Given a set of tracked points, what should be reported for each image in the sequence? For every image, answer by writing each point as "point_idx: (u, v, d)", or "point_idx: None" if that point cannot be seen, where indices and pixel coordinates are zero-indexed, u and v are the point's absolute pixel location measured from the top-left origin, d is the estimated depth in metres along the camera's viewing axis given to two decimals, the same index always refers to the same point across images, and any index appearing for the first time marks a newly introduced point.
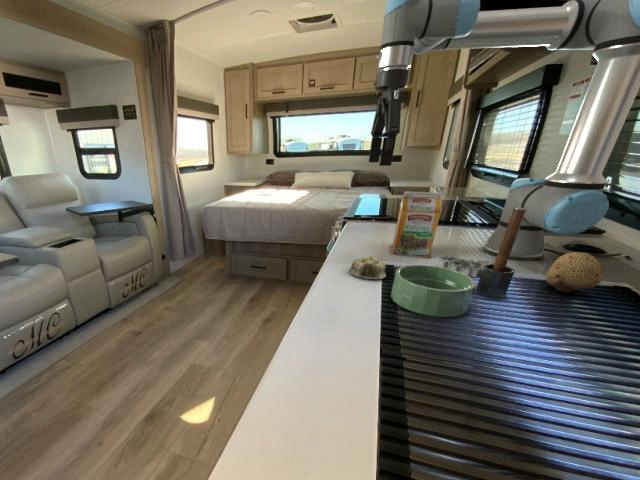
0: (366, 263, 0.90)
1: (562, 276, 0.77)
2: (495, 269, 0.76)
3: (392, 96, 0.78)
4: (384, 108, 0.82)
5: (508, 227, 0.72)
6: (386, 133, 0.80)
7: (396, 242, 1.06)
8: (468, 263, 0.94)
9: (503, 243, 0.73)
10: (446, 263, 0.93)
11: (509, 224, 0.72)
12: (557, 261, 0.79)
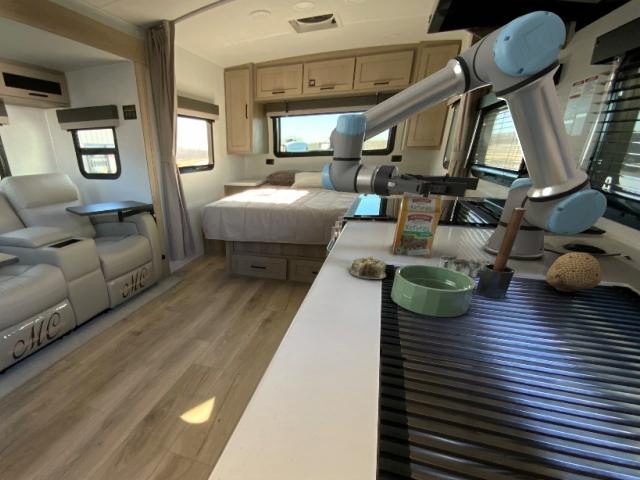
0: (366, 263, 0.90)
1: (562, 276, 0.77)
2: (495, 269, 0.76)
3: (391, 188, 0.80)
4: None
5: (508, 227, 0.72)
6: (424, 193, 0.74)
7: (396, 242, 1.06)
8: (468, 263, 0.94)
9: (503, 243, 0.73)
10: (446, 263, 0.93)
11: (509, 224, 0.72)
12: (557, 261, 0.79)
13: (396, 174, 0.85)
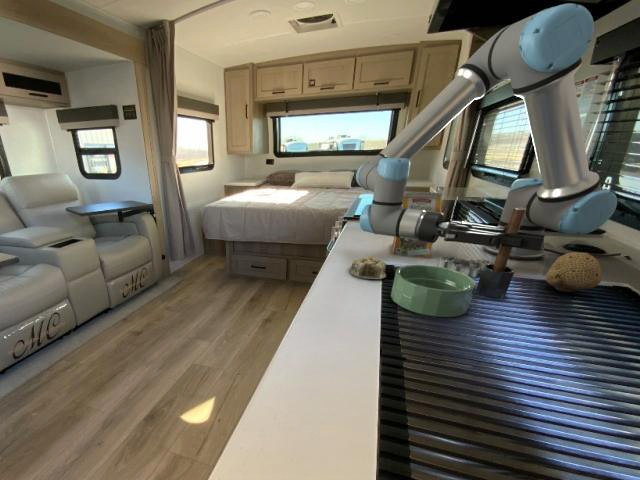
0: (366, 263, 0.90)
1: (562, 276, 0.77)
2: (495, 269, 0.76)
3: (451, 240, 0.75)
4: None
5: (508, 227, 0.72)
6: (497, 245, 0.73)
7: (396, 242, 1.06)
8: (468, 263, 0.94)
9: None
10: (446, 263, 0.93)
11: (509, 224, 0.72)
12: (557, 261, 0.79)
13: (442, 221, 0.82)
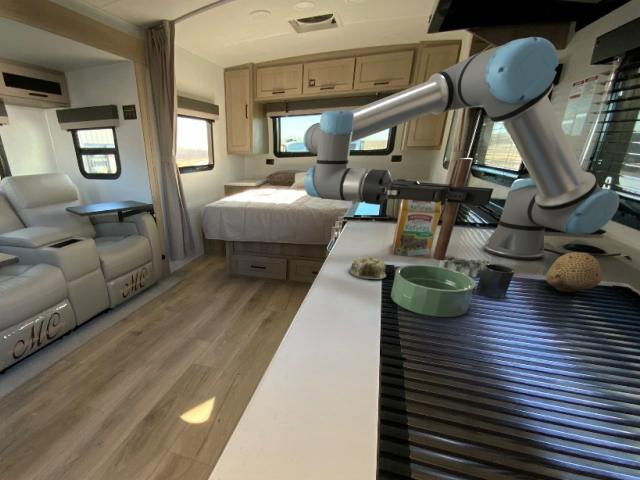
0: (366, 263, 0.90)
1: (562, 276, 0.77)
2: (442, 230, 0.68)
3: (393, 197, 0.68)
4: None
5: (453, 180, 0.64)
6: (442, 201, 0.65)
7: (396, 242, 1.06)
8: (468, 263, 0.94)
9: None
10: (446, 263, 0.93)
11: (455, 177, 0.64)
12: (557, 261, 0.79)
13: (388, 179, 0.74)
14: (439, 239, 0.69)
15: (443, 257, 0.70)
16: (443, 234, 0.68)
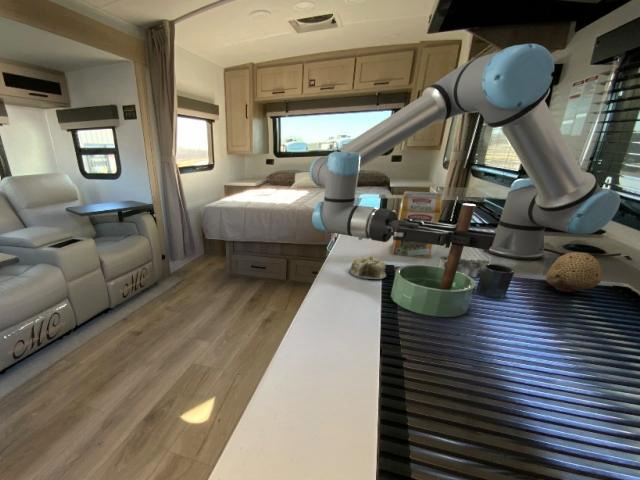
0: (366, 263, 0.90)
1: (562, 276, 0.77)
2: (447, 269, 0.71)
3: (400, 238, 0.71)
4: None
5: (457, 224, 0.67)
6: (447, 244, 0.68)
7: (396, 242, 1.06)
8: (468, 263, 0.94)
9: None
10: None
11: (459, 221, 0.67)
12: (557, 261, 0.79)
13: (394, 218, 0.77)
14: (444, 278, 0.72)
15: None
16: (447, 274, 0.71)
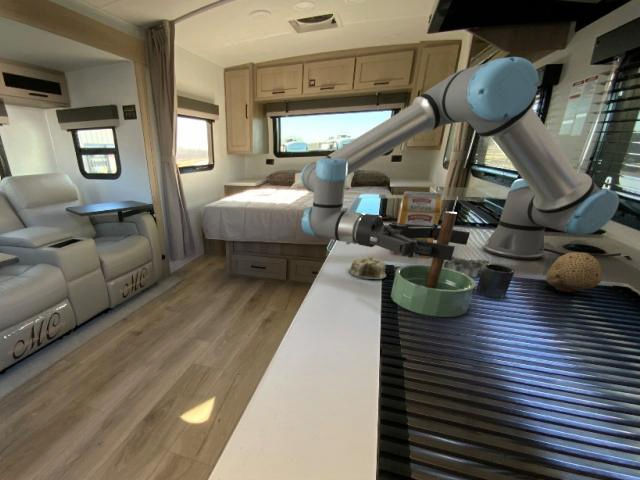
0: (366, 263, 0.90)
1: (562, 276, 0.77)
2: (430, 275, 0.73)
3: (373, 243, 0.73)
4: None
5: (440, 231, 0.69)
6: (408, 253, 0.67)
7: None
8: (468, 263, 0.94)
9: None
10: (446, 263, 0.93)
11: (441, 228, 0.68)
12: (557, 261, 0.79)
13: (380, 224, 0.78)
14: (427, 283, 0.74)
15: None
16: (431, 279, 0.73)
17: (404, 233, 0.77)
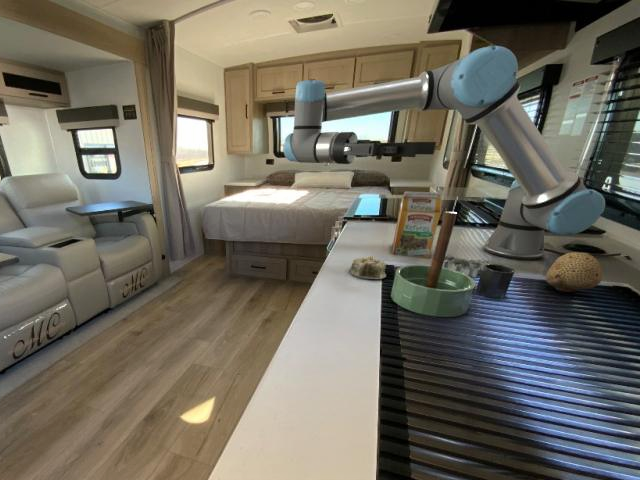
0: (366, 263, 0.90)
1: (562, 276, 0.77)
2: (430, 275, 0.73)
3: (347, 153, 0.78)
4: (361, 155, 0.79)
5: (440, 231, 0.69)
6: (377, 155, 0.73)
7: (396, 242, 1.06)
8: (468, 263, 0.94)
9: (436, 248, 0.70)
10: (446, 263, 0.93)
11: (441, 228, 0.68)
12: (557, 261, 0.79)
13: (355, 141, 0.84)
14: (427, 283, 0.74)
15: None
16: (431, 279, 0.73)
17: None
